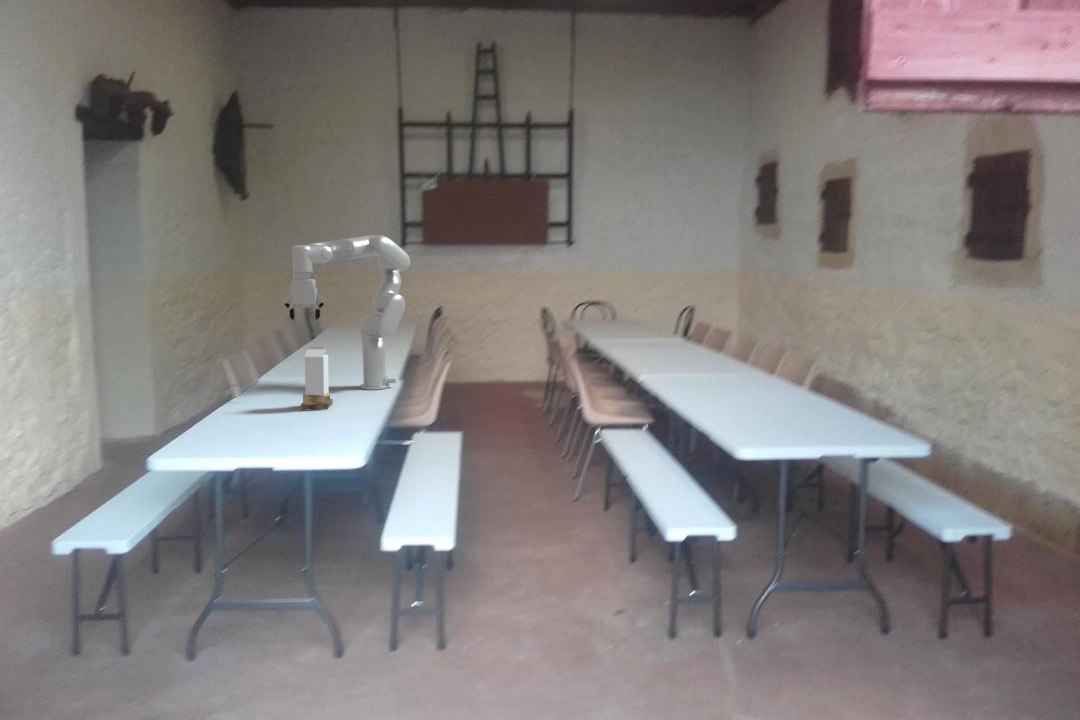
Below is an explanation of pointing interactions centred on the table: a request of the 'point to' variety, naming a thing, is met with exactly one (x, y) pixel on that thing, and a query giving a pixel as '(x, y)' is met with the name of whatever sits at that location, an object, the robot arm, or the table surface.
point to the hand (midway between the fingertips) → (305, 319)
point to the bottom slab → (317, 406)
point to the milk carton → (316, 370)
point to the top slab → (316, 399)
